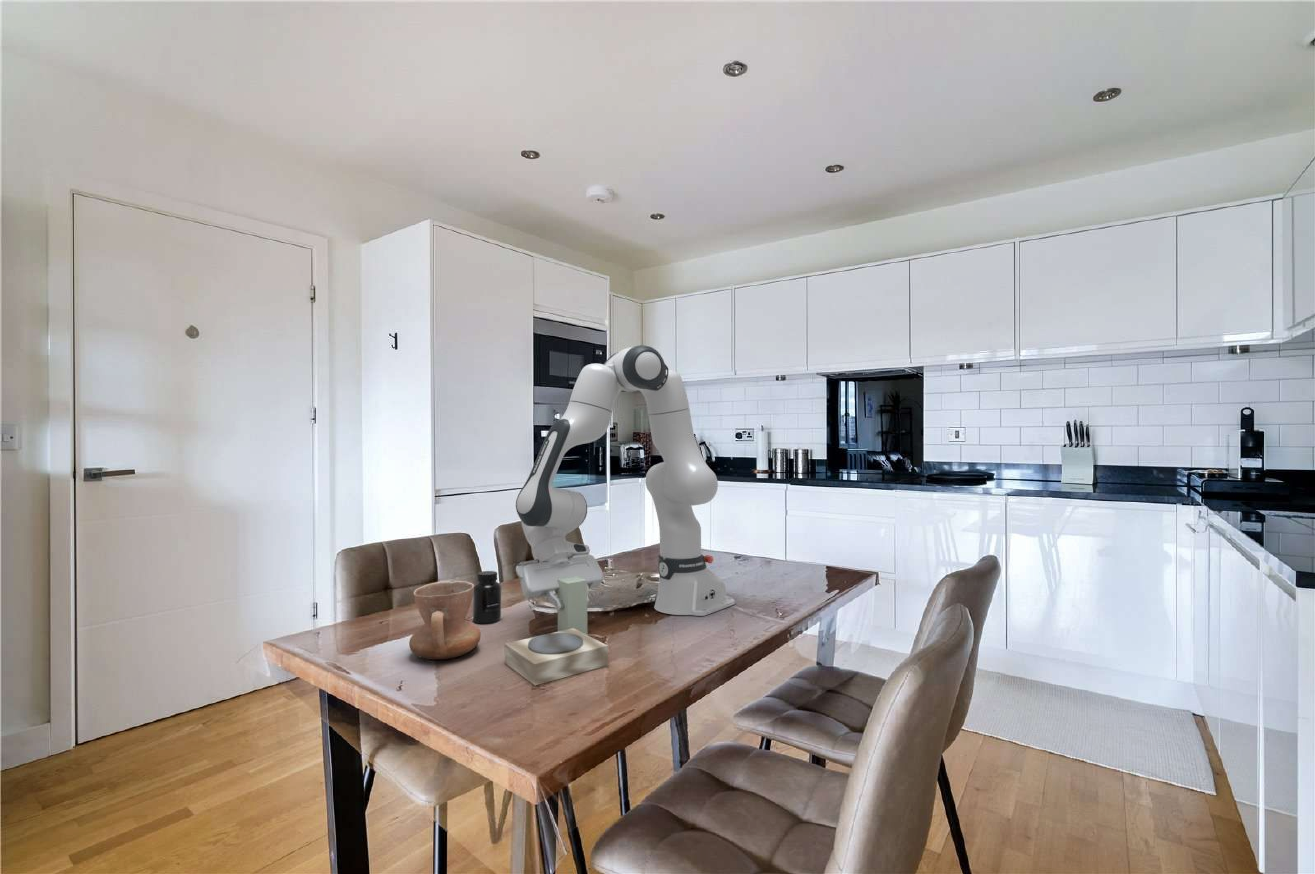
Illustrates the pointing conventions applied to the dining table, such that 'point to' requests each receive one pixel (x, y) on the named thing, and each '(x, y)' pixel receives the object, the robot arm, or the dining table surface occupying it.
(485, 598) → the supplement bottle
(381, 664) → the dining table surface
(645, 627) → the dining table surface
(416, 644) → the ceramic jug
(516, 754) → the dining table surface
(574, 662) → the birch base
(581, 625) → the sage block
